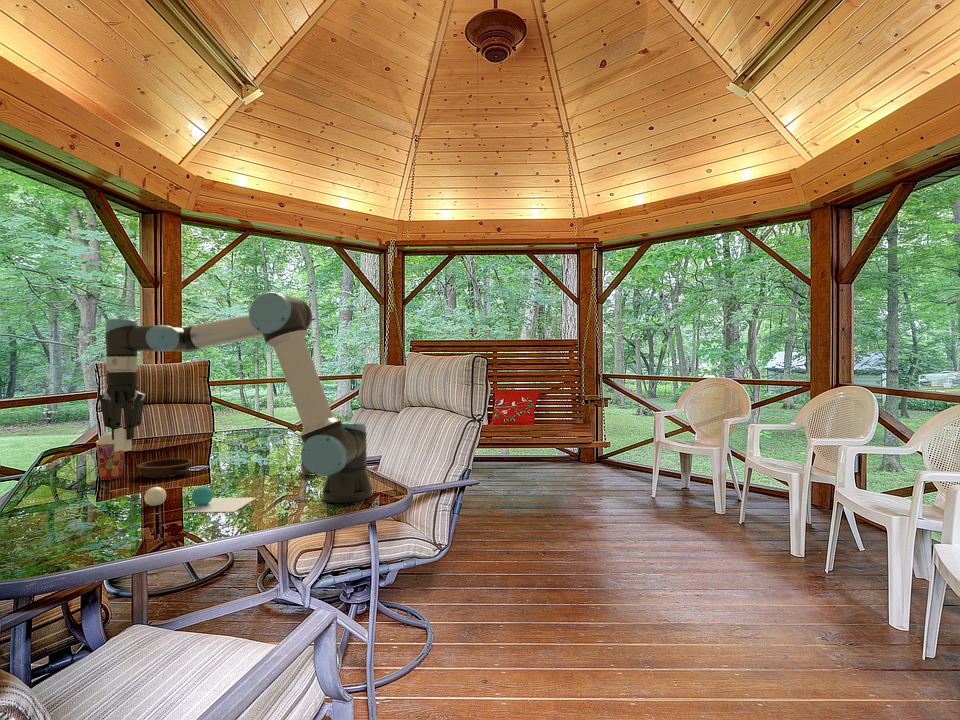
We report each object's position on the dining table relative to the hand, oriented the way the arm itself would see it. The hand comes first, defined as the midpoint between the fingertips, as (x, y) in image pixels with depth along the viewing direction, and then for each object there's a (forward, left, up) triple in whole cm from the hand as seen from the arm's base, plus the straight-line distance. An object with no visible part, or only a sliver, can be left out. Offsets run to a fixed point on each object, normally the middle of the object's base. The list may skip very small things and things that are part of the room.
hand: (123, 450), depth 146 cm
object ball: (-24, 0, -14) cm, 27 cm away
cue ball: (-10, 0, -14) cm, 17 cm away
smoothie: (+29, -34, -17) cm, 48 cm away
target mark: (-30, 0, -16) cm, 34 cm away
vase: (-43, -38, -17) cm, 59 cm away
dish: (+13, -40, -17) cm, 45 cm away
